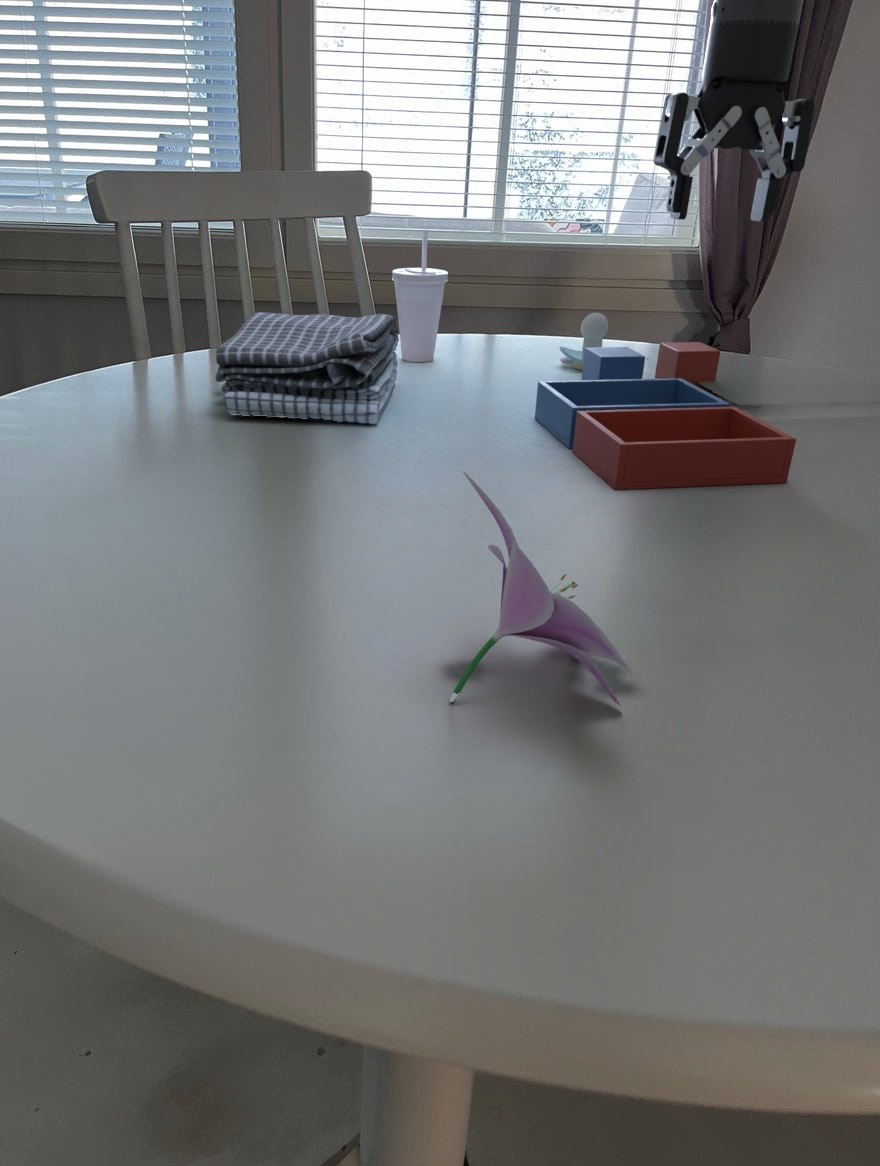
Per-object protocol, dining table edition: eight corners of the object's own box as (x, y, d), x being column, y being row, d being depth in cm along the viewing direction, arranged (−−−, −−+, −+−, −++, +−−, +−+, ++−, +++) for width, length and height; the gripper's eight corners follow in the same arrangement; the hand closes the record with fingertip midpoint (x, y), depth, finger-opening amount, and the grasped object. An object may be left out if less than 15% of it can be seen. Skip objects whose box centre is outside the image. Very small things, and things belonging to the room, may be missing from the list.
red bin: (727, 446, 81) (735, 406, 80) (786, 482, 73) (796, 438, 71) (571, 452, 79) (576, 410, 77) (614, 490, 71) (620, 444, 69)
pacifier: (553, 362, 111) (560, 371, 105) (559, 306, 108) (565, 313, 103) (615, 363, 111) (625, 373, 105) (622, 308, 108) (632, 315, 103)
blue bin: (675, 414, 90) (681, 378, 89) (722, 443, 82) (730, 403, 80) (534, 418, 88) (537, 381, 86) (568, 448, 80) (572, 407, 78)
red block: (692, 385, 101) (700, 341, 99) (712, 396, 97) (721, 350, 95) (653, 386, 100) (659, 342, 98) (671, 397, 96) (678, 351, 94)
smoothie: (419, 367, 106) (424, 233, 99) (379, 358, 110) (380, 228, 103) (455, 359, 110) (462, 230, 104) (415, 350, 114) (418, 225, 107)
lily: (601, 818, 38) (725, 612, 36) (345, 682, 38) (456, 470, 36) (576, 736, 50) (669, 577, 48) (381, 633, 50) (465, 470, 48)
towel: (401, 382, 100) (402, 305, 96) (376, 429, 84) (377, 338, 80) (262, 375, 101) (258, 299, 97) (211, 420, 85) (204, 330, 81)
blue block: (621, 391, 98) (627, 346, 96) (639, 403, 94) (645, 356, 92) (579, 392, 97) (584, 347, 95) (595, 404, 93) (601, 357, 91)
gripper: (699, 11, 78) (666, 222, 86) (852, 21, 81) (806, 225, 89) (661, 19, 85) (634, 215, 93) (804, 28, 87) (765, 218, 95)
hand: (718, 220), depth 91 cm, fingers open, 8 cm apart
